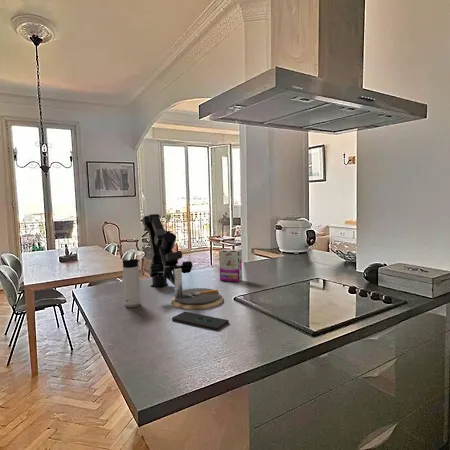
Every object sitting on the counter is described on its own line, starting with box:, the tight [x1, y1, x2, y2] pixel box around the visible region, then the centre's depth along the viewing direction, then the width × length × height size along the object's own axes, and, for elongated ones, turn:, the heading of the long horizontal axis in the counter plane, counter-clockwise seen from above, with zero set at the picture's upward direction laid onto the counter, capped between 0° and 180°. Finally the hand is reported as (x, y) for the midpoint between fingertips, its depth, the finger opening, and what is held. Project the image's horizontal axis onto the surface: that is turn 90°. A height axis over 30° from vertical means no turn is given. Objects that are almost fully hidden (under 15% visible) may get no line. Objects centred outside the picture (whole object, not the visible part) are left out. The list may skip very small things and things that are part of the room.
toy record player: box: [174, 268, 220, 305], centre depth 150 cm, size 20×19×14 cm
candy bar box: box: [218, 248, 243, 283], centre depth 183 cm, size 11×5×16 cm, turn 68°
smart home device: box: [171, 311, 230, 332], centre depth 126 cm, size 8×2×20 cm
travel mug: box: [122, 258, 141, 308], centre depth 146 cm, size 6×7×20 cm
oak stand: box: [170, 293, 223, 311], centre depth 150 cm, size 22×22×1 cm
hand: (175, 285), depth 150 cm, fingers closed
